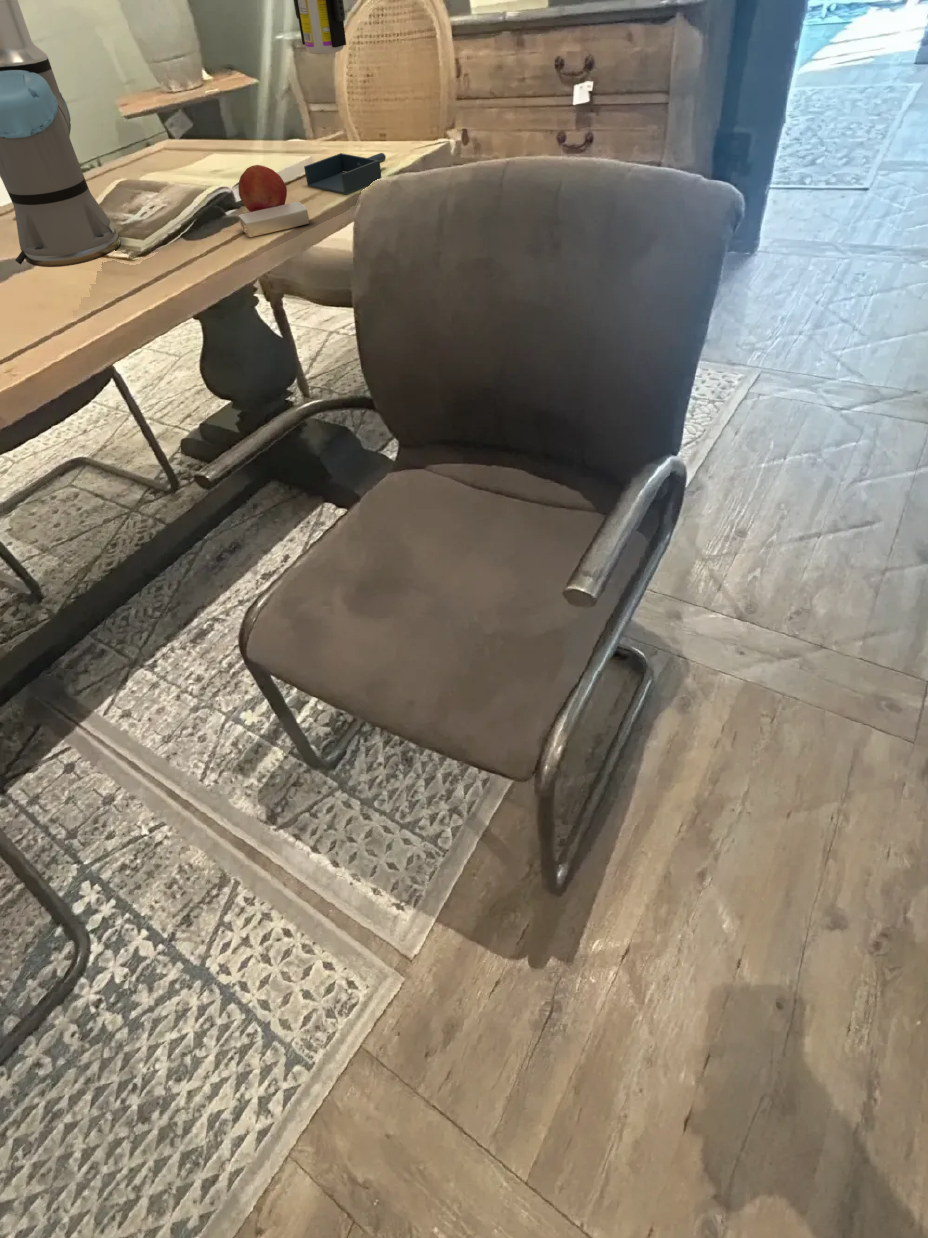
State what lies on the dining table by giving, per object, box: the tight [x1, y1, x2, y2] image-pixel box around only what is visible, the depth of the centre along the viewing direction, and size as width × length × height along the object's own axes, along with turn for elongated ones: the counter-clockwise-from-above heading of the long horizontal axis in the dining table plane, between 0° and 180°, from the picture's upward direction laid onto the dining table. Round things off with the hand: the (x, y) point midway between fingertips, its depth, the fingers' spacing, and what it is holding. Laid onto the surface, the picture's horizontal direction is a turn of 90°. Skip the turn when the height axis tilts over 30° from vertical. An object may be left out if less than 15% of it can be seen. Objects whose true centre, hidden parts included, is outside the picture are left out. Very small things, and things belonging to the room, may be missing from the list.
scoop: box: [303, 152, 387, 196], centre depth 139 cm, size 17×10×3 cm, turn 142°
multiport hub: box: [238, 201, 310, 238], centre depth 122 cm, size 4×11×2 cm, turn 118°
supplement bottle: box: [298, 0, 345, 55], centre depth 120 cm, size 7×7×13 cm
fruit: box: [238, 164, 288, 212], centre depth 124 cm, size 8×8×10 cm
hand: (324, 44), depth 124 cm, fingers closed on supplement bottle, 7 cm apart
